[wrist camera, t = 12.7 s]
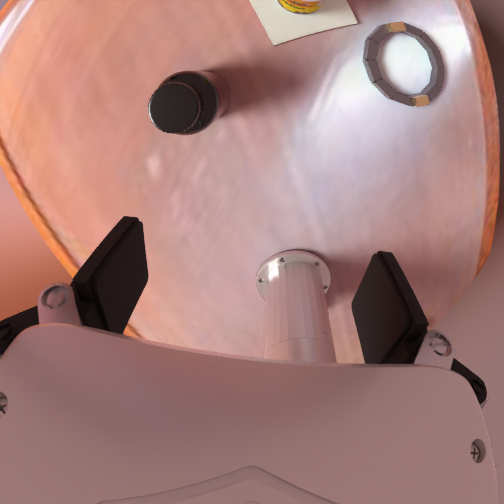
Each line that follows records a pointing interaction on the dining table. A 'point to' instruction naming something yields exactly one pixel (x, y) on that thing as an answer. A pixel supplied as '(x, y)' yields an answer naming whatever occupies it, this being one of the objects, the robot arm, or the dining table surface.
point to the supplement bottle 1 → (188, 102)
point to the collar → (382, 85)
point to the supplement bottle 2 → (301, 6)
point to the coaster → (301, 19)
